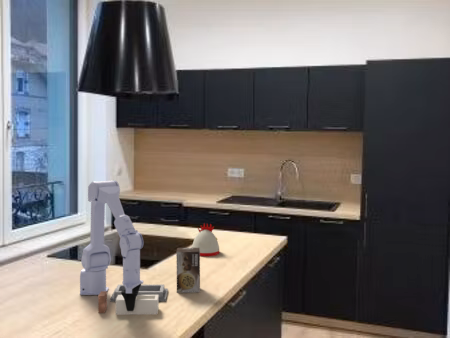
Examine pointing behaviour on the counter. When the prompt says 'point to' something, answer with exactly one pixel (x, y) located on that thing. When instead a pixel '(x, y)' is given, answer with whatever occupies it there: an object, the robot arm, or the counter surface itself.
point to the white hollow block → (139, 305)
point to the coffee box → (188, 270)
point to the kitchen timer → (206, 242)
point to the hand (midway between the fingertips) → (131, 307)
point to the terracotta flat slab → (102, 302)
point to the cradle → (143, 291)
